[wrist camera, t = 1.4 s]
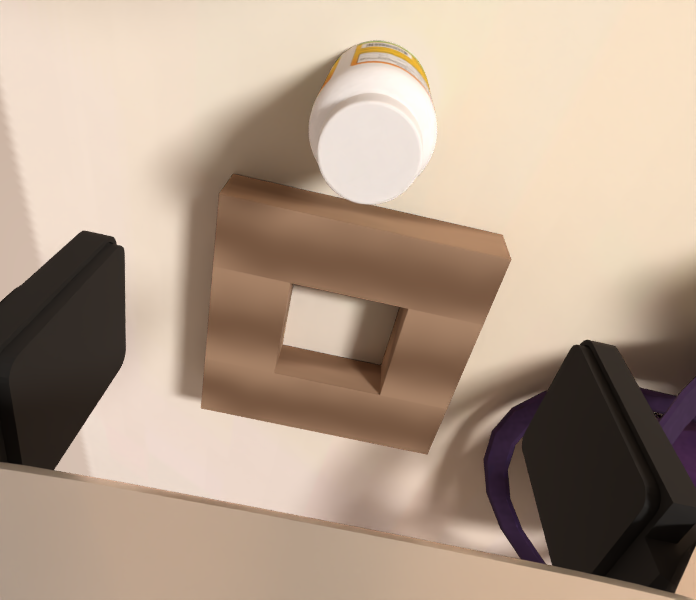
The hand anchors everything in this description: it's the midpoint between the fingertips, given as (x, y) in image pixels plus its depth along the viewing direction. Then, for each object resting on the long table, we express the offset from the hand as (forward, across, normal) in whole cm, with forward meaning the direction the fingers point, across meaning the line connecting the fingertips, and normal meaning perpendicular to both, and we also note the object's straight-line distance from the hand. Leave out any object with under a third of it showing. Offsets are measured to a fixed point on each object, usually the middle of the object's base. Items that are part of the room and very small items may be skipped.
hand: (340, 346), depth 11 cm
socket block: (+21, -1, +13) cm, 25 cm away
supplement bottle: (+21, 0, -1) cm, 21 cm away
